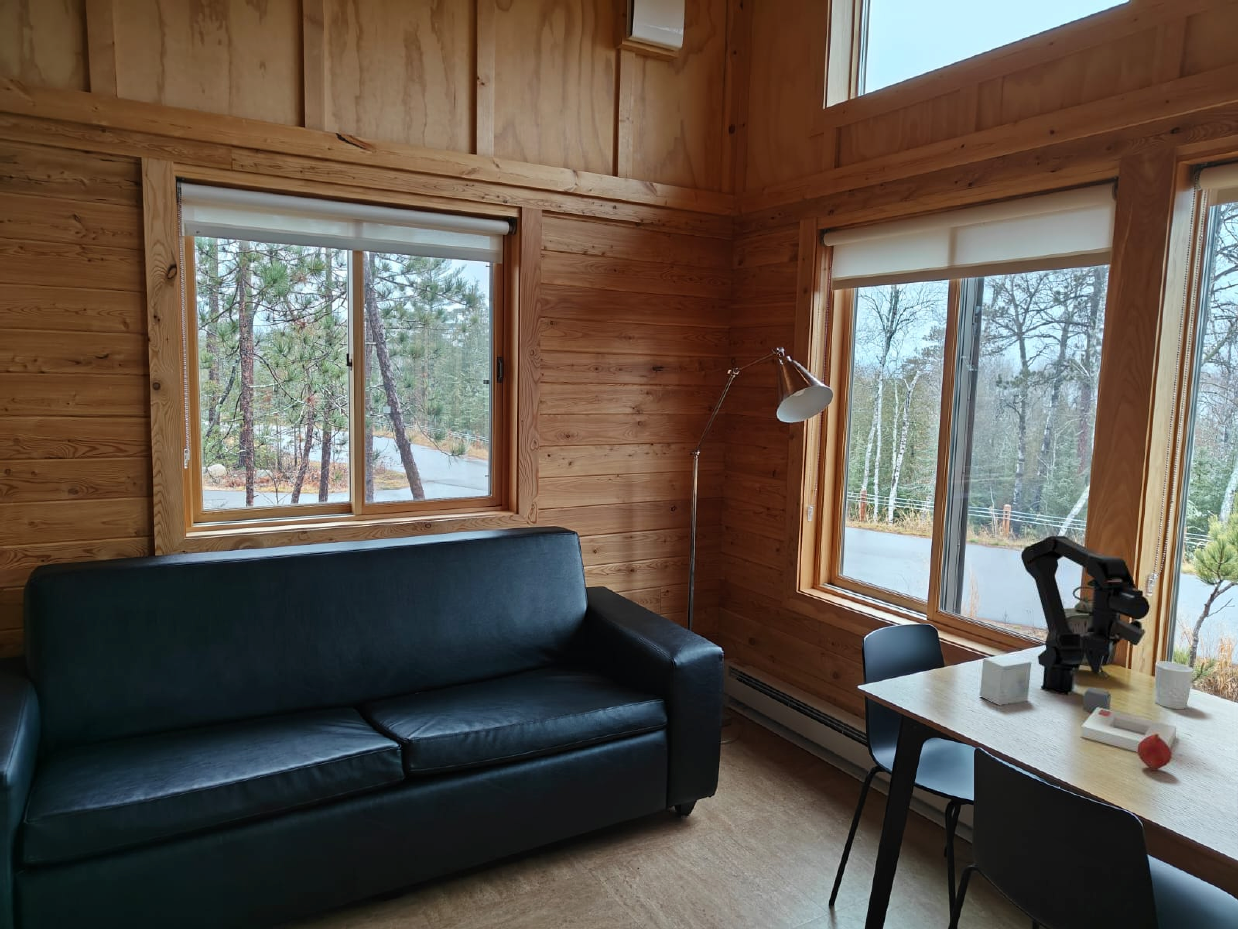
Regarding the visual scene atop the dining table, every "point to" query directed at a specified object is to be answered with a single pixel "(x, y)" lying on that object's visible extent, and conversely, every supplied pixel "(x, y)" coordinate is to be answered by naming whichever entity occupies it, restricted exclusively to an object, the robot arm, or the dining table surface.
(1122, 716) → the socket plate
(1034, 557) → the robot arm
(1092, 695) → the plug
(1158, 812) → the dining table surface
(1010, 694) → the skincare box
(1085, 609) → the tabletop clock
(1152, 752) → the onion
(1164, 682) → the white cup
